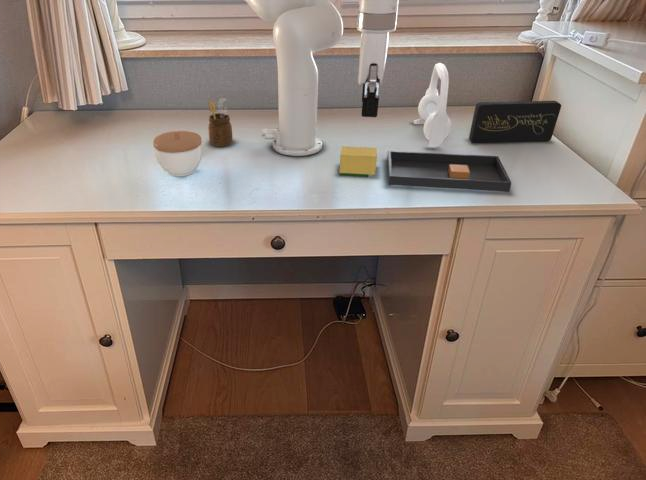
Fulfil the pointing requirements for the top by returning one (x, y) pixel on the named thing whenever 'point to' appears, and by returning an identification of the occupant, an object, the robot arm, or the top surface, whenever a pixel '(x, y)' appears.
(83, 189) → the top surface
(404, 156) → the black shallow rectangular tray
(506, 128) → the nameplate
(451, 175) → the orange square block
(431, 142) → the headset
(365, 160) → the sponge
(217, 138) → the utensil holder
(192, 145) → the trinket box
